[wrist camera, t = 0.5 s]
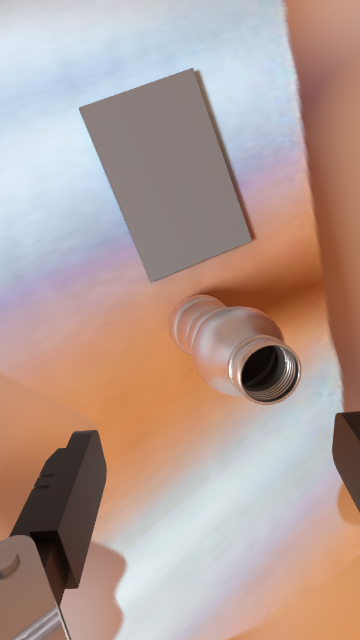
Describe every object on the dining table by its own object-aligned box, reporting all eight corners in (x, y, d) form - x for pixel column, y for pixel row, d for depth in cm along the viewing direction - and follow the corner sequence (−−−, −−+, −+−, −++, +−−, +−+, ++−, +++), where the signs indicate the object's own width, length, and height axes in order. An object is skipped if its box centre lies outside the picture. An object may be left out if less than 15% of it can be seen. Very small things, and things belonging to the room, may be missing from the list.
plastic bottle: (157, 305, 37) (194, 343, 18) (213, 284, 38) (309, 297, 18) (177, 358, 38) (231, 448, 19) (231, 336, 39) (338, 402, 19)
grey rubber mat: (79, 111, 33) (78, 107, 32) (191, 72, 34) (192, 67, 34) (150, 282, 37) (150, 282, 36) (249, 241, 38) (252, 240, 37)
